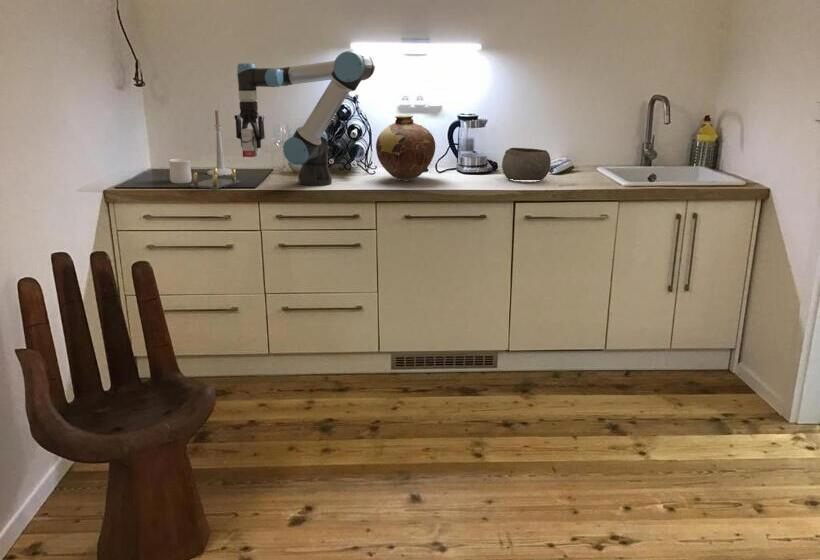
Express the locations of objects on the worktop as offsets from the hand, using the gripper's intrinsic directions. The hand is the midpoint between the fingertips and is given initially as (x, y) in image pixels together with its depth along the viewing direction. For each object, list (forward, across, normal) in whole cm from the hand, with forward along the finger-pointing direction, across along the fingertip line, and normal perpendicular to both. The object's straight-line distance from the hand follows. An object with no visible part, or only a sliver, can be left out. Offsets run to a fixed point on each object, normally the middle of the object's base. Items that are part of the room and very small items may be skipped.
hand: (251, 155), depth 305 cm
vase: (+14, -58, -38) cm, 71 cm away
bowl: (+15, -110, -64) cm, 128 cm away
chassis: (+12, +14, +9) cm, 21 cm away
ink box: (+1, 0, 0) cm, 1 cm away
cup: (+12, +32, +9) cm, 35 cm away
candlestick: (+12, +29, -18) cm, 36 cm away
